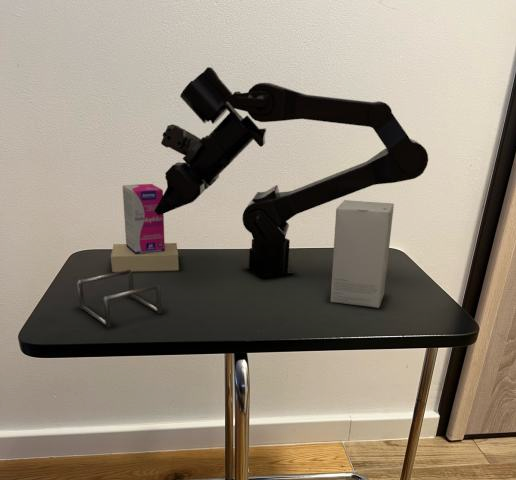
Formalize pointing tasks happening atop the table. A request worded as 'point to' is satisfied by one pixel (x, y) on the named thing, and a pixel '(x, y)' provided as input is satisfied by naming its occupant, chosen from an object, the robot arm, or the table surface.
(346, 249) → the cosmetic box
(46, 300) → the table surface
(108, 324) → the rack
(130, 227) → the supplement box
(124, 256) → the ledge
